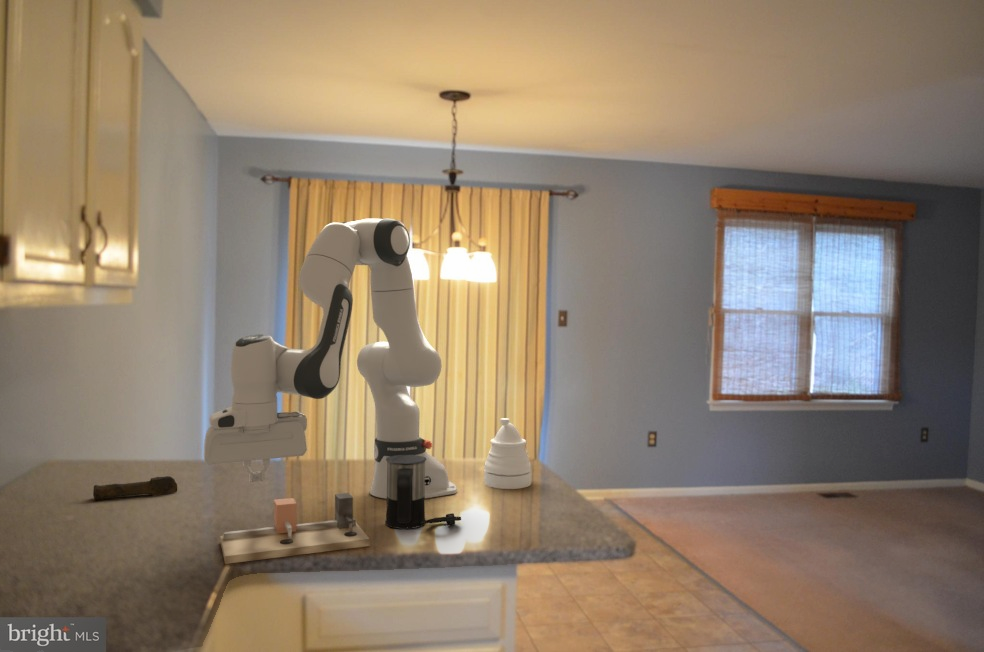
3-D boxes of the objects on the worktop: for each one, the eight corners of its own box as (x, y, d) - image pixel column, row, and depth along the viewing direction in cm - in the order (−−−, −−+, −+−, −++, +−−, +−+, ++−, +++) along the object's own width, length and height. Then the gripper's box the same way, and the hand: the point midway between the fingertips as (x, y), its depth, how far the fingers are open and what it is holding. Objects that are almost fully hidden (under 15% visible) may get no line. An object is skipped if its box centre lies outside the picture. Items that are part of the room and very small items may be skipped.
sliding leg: (293, 526, 161) (293, 497, 161) (300, 539, 153) (300, 509, 152) (273, 528, 159) (273, 499, 159) (279, 541, 151) (279, 511, 151)
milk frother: (380, 519, 173) (381, 455, 172) (446, 512, 179) (447, 450, 178) (396, 538, 160) (396, 469, 159) (466, 531, 165) (467, 464, 165)
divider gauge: (354, 527, 167) (354, 491, 166) (369, 545, 155) (369, 507, 154) (220, 542, 156) (220, 504, 155) (225, 564, 144) (224, 522, 143)
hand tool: (92, 503, 184) (92, 484, 183) (94, 498, 187) (94, 480, 187) (176, 496, 191) (176, 478, 190) (177, 492, 194) (177, 474, 194)
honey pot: (516, 491, 199) (517, 423, 198) (475, 484, 205) (476, 418, 204) (539, 481, 209) (540, 417, 209) (499, 475, 216) (500, 412, 215)
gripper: (304, 408, 162) (305, 471, 163) (201, 415, 154) (203, 482, 154) (309, 413, 156) (310, 479, 157) (203, 421, 148) (205, 490, 149)
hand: (256, 480), depth 156 cm, fingers closed
